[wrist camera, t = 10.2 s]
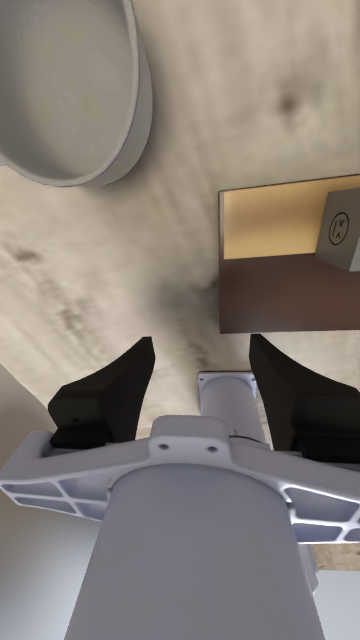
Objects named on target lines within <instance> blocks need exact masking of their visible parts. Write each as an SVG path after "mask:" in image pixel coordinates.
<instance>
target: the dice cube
mask: <svg viewBox="0 0 360 640" xmlns="http://www.w3.org/2000/svg"><path fill="white" fill-rule="evenodd" d="M314 257H316V258H318V259H320V260H323V261H325V262H328V263H330V264H332V265H335V266H337V267H339V268H342V269H344V270H347V271H349V272H350V271H360V188H354V189H347V190H340V191H333V192H328V195H327V200H326V204H325V209H324V214H323V218H322V223H321V228H320V232H319V237H318V242H317V246H316V251H315V256H314Z"/></svg>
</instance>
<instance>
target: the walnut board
mask: <svg viewBox="0 0 360 640" xmlns="http://www.w3.org/2000/svg"><path fill="white" fill-rule="evenodd" d="M354 188H360V174H354V175H346V176H338V177H329V178H321V179H313V180H305V181H297V182H289V183H280V184H272V185H264V186H256V187H248V188H240V189H231V190H223V191H219V192H218V221H219V329H220V334H229V333H264V332H300V331H335V330H360V271H350V272H349V271H347V270H344V269H342V268H339V267H337V266H335V265H332V264H330V263H328V262H325V261H323V260H320V259H318V258H316V257H314V256H315V251H316V246H317V242H318V237H319V232H320V228H321V223H322V218H323V214H324V209H325V204H326V200H327V195H328V192H333V191H340V190H347V189H354Z"/></svg>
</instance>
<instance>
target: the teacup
mask: <svg viewBox="0 0 360 640" xmlns="http://www.w3.org/2000/svg"><path fill="white" fill-rule="evenodd" d="M152 108H153V102H152V84H151V76H150V70H149V65H148V60H147V55H146V51H145V47H144V43H143V40H142V36H141V33H140V29H139V26H138V23H137V20H136V16H135V13H134V8H133V2H132V0H0V166H3V165H6V166H8V167H10V168H11V169H13V170H14V171H16V172H17V173H19V174H20V175H22V176H24V177H26V178H29V179H31V180H33V181H35V182H37V183H41V184H44V185H49V186H55V187H72V186H83V187H89V186H102V185H106V184H109V183H112V182H115V181H117V180H119V179H120V178H122V177H123V176H124V175H126V174H127V173H128V172H129V171H130V170H131V169H132V168H133V167H134V165H135V164H136V163H137V161H138V160H139V158H140V156H141V154H142V152H143V150H144V148H145V145H146V143H147V139H148V136H149V132H150V127H151V121H152Z"/></svg>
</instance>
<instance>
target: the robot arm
mask: <svg viewBox="0 0 360 640" xmlns="http://www.w3.org/2000/svg"><path fill="white" fill-rule="evenodd" d="M249 360H250V365H251V369H252V372H200V373H198V385H199V398H200V412H201V416H191V415H164V416H159V417H158V418H157V419H155V420H154V421H153V425H152V429H151V433H150V437H149V438H144V439H139V440H135V437H136V431H137V426H138V421H139V416H140V411H141V407H142V402H143V399H144V395H145V392H146V389H147V387H148V384H149V381H150V378H151V375H152V372H153V369H154V364H155V353H154V348H153V343H152V338H151V337H142V338H141V339H140V340H139V341H138V342H137V343H136V344H135V345H133V346H132V347H131V348H130V349H129V350H128V351H126V352H125V353H124V354H123V355H121V356H120V357H119V358H118V359H116V360H115V361H113V362H112V363H110V364H109V365H107V366H106V367H104V368H102V369H100V370H99V371H97V372H95V373H93V374H91V375H89V376H87V377H85V378H82V379H80V380H78V381H75V382H72V383H70V384H67V385H64V386H62V387H61V388H60V390H59V391H58V392H57V393H56V395H55V396H54V397H53V398H52V400H51V401H50V402H49V404H48V411H49V414H50V416H51V417H52V419H53V421H54V422H55V424H56V426H57V427H58V429H57V431H56V432H55V433H52V432H49V431H31V432H30V433H29V435H28V436H27V437H26V439H25V440H24V441H23V442H22V444H21V445H20V446H19V447H18V449H17V450H16V451H15V453H14V454H13V455H12V456H11V458H10V459H9V460H8V461H7V463H6V464H5V466H4V467H3V468H2V469H1V471H0V489H1V490H2V491H3V492H5V493H6V494H7V495H8V496H9V497H10V498H11V499H12V500H13V501H14V502H15V503H16V504H17V505H21V506H29V507H37V508H42V509H49V510H53V511H58V512H63V513H67V514H71V515H75V516H80V517H84V518H88V519H92V520H97V521H101V522H102V524H101V528H100V530H99V533H98V536H97V540H96V543H95V546H94V549H93V552H92V555H91V558H90V561H89V564H88V568H87V570H86V573H85V577H84V580H83V583H82V586H81V589H80V592H79V595H78V598H77V601H76V604H75V608H74V611H73V614H72V617H71V620H70V623H69V626H68V629H67V632H66V635H65V638H64V640H325V638H324V634H323V630H322V627H321V623H320V620H319V616H318V613H317V609H316V606H315V602H314V599H313V594H314V592H315V590H316V588H317V586H318V580H317V577H316V575H317V574H318V568H317V564H316V560H315V557H314V553H313V549H312V545H311V544H315V543H360V392H359V391H358V390H357V389H356V388H354V387H351V386H348V385H346V384H343V383H340V382H337V381H334V380H332V379H329V378H327V377H325V376H322V375H320V374H318V373H316V372H314V371H312V370H310V369H308V368H306V367H304V366H302V365H301V364H299V363H297V362H296V361H294V360H293V359H291V358H289V357H288V356H287V355H285V354H284V353H283V352H281V351H280V350H279V349H277V348H276V347H275V346H274V345H272V344H271V343H270V342H269V341H268V340H267V339H266V338H264V337H263V336H262V335H261V334H260V333H259V334H251V337H250V349H249ZM201 378H203V379H201ZM252 378H254V379H252ZM257 386H258V389H259V391H260V394H261V397H262V400H263V404H264V408H265V412H266V416H267V420H268V425H269V429H270V434H271V438H272V443H273V448H274V450H271V449H270V445H269V444H268V443H267V442H266V438H265V434H264V431H263V427H262V423H261V420H260V416H259V412H258V409H257V405H256V402H255V397H256V388H257Z"/></svg>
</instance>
